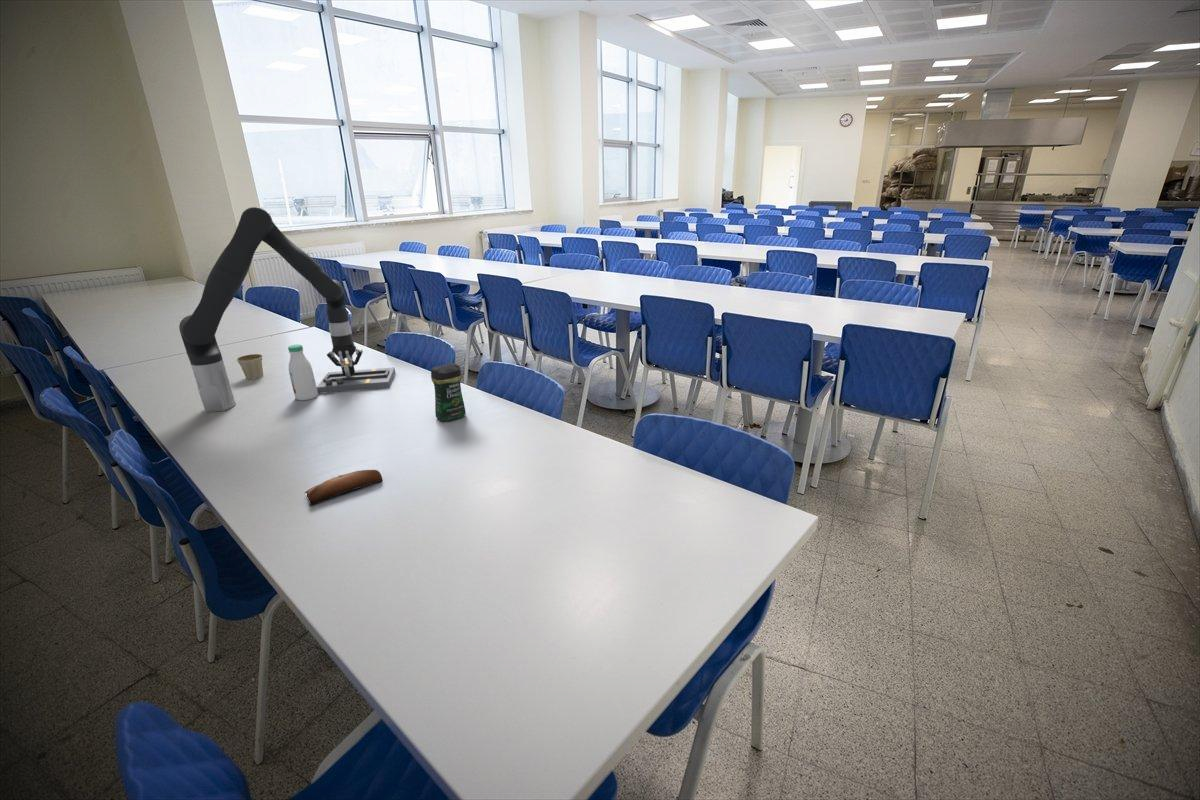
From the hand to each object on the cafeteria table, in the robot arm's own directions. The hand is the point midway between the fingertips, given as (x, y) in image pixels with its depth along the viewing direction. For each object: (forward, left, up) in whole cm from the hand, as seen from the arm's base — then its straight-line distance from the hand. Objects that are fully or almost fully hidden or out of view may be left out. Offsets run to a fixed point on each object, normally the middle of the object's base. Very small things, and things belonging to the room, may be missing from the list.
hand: (349, 375), depth 213 cm
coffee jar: (-44, -41, -4) cm, 60 cm away
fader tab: (0, 0, -1) cm, 1 cm away
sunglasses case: (-85, -15, -4) cm, 86 cm away
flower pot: (+18, +41, -4) cm, 45 cm away
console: (0, -3, -4) cm, 5 cm away
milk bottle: (-12, +13, -4) cm, 18 cm away
